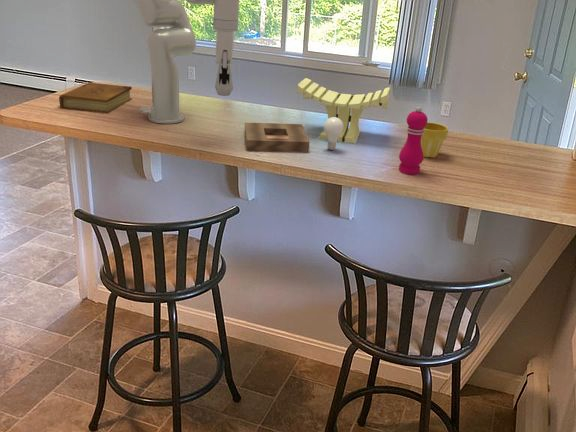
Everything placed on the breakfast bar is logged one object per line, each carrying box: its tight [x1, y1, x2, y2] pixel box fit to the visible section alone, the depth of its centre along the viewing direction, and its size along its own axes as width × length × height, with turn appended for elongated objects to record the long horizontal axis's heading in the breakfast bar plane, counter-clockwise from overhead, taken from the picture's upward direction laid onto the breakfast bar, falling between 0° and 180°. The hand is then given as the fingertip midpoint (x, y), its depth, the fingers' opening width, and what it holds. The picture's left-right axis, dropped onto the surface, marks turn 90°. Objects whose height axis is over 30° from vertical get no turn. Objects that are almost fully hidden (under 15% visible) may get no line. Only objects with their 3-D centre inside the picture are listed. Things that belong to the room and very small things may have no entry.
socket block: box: [244, 122, 310, 153], centre depth 192 cm, size 20×20×4 cm
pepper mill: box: [398, 106, 429, 175], centre depth 171 cm, size 7×7×20 cm
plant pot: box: [421, 121, 449, 158], centre depth 189 cm, size 10×10×10 cm
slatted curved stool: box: [296, 77, 391, 144], centre depth 201 cm, size 30×16×18 cm, turn 76°
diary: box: [58, 82, 133, 114], centre depth 222 cm, size 23×19×6 cm
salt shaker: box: [214, 60, 234, 97], centre depth 182 cm, size 6×6×13 cm
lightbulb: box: [323, 117, 343, 151], centre depth 187 cm, size 6×6×11 cm
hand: (224, 84), depth 184 cm, fingers closed on salt shaker, 3 cm apart
